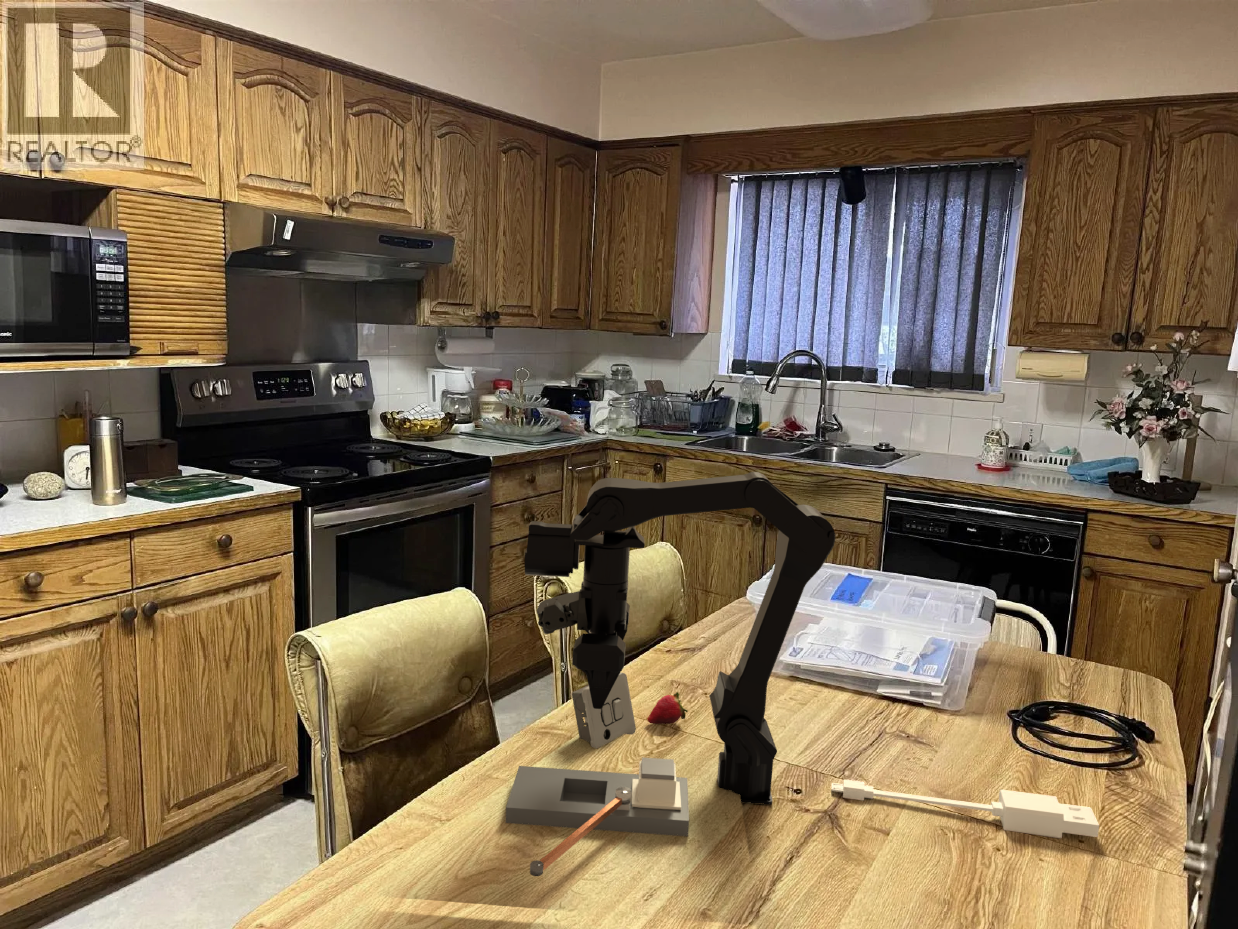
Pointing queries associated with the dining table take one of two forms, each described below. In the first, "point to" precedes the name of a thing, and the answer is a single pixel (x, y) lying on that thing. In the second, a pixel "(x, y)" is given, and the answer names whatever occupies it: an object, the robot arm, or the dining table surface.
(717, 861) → the dining table surface
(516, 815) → the grey socket base
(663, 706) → the fruit
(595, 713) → the electrical switch
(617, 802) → the copper link
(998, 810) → the charging cable
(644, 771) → the plug
